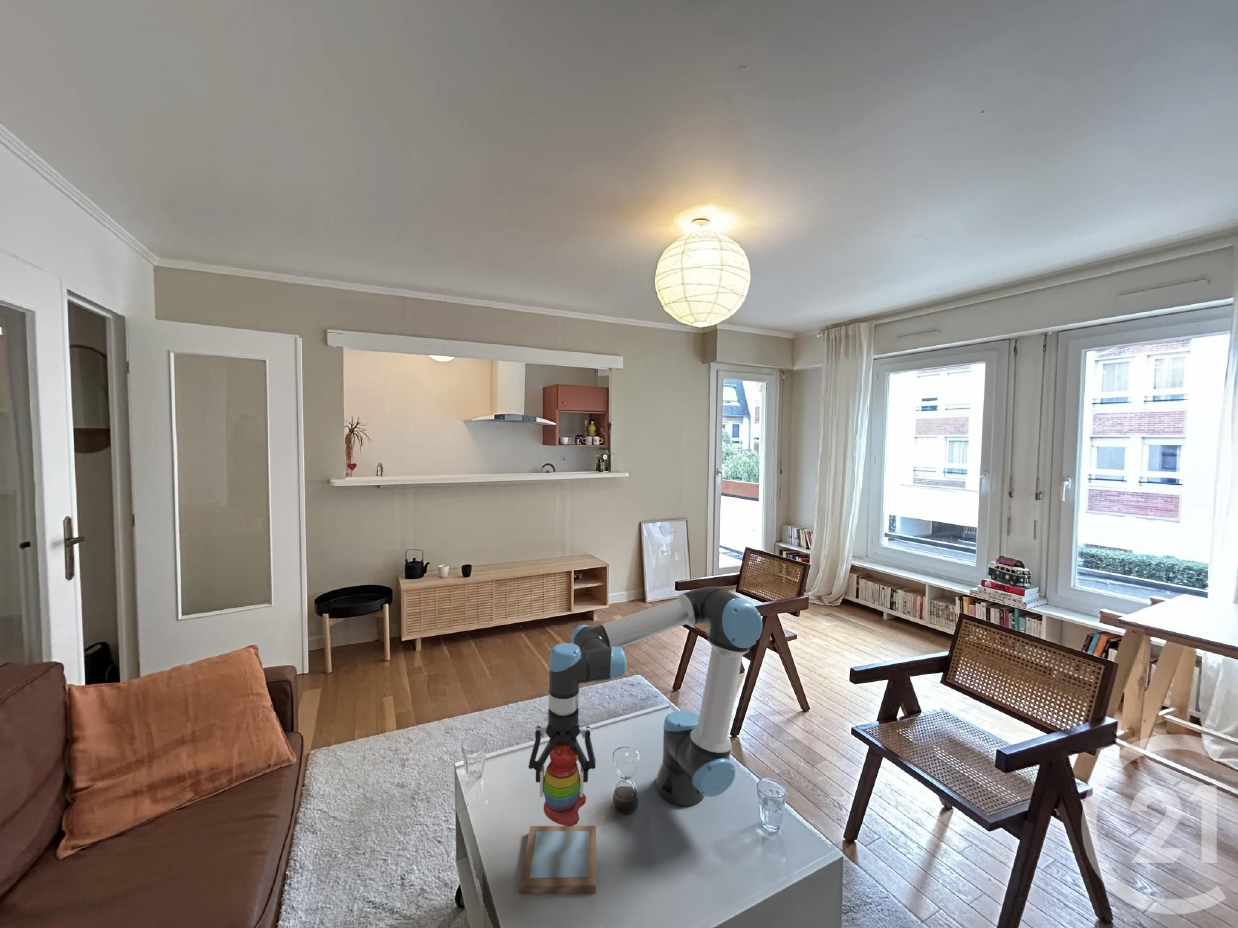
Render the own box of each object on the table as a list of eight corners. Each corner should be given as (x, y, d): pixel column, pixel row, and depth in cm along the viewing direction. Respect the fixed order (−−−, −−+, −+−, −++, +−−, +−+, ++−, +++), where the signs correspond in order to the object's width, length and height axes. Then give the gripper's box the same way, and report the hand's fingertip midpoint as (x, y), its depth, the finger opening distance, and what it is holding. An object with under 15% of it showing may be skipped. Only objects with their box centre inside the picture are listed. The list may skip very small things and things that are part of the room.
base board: (596, 832, 139) (596, 824, 139) (595, 892, 121) (596, 884, 121) (530, 832, 138) (530, 825, 138) (519, 893, 120) (519, 885, 120)
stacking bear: (576, 828, 122) (577, 757, 121) (536, 821, 124) (537, 751, 123) (587, 796, 133) (589, 731, 132) (550, 790, 135) (551, 726, 134)
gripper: (607, 699, 131) (605, 782, 132) (521, 699, 130) (520, 782, 132) (607, 716, 123) (605, 803, 125) (516, 715, 122) (515, 804, 124)
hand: (561, 792), depth 128 cm, fingers closed on stacking bear, 9 cm apart
